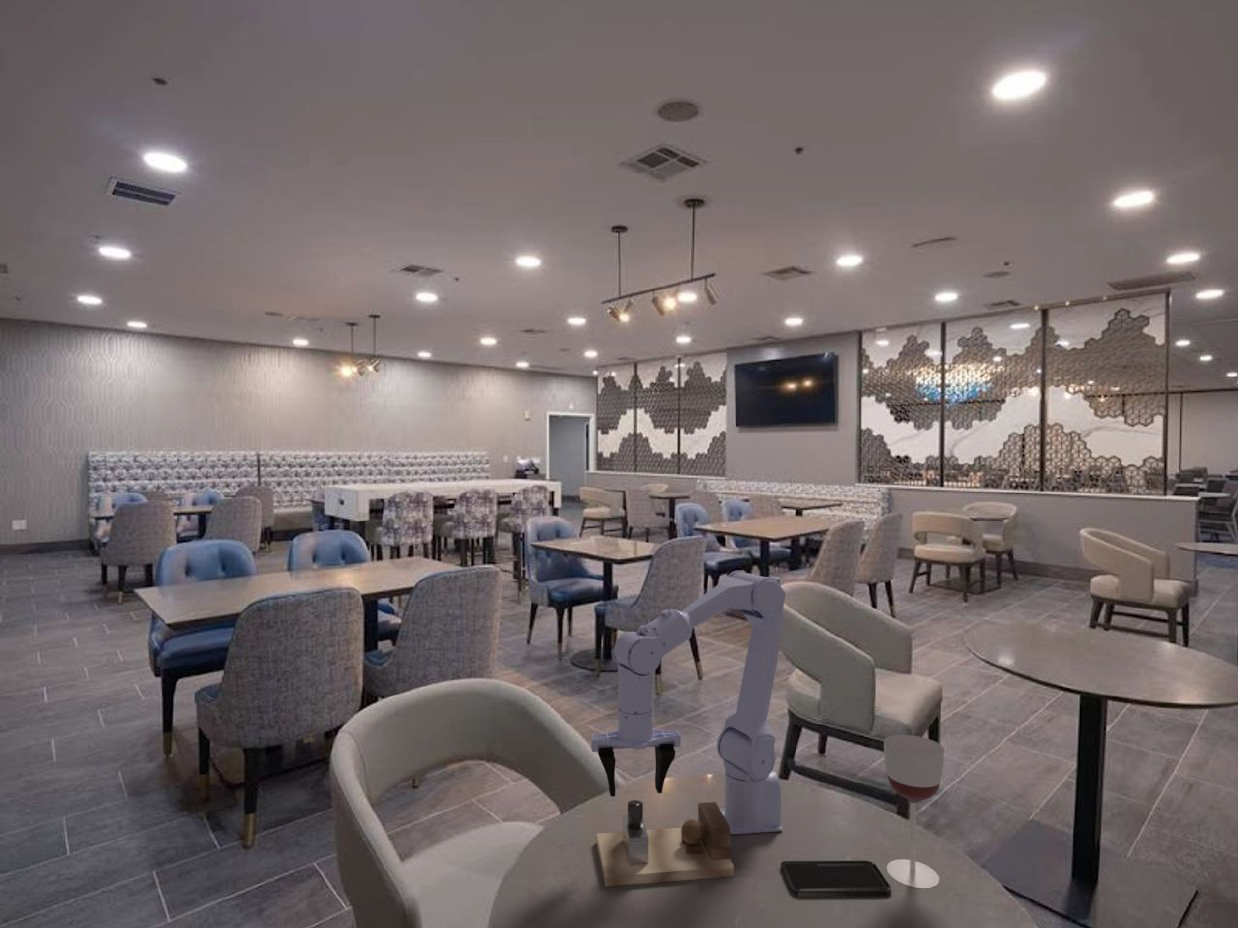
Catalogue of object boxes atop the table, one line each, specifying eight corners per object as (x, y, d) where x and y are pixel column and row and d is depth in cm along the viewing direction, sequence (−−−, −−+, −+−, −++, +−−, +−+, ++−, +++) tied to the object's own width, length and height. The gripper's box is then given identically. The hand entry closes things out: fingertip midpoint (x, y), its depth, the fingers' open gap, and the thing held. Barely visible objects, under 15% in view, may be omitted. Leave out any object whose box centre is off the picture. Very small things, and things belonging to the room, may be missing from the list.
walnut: (699, 836, 111) (700, 814, 111) (705, 848, 107) (706, 825, 107) (678, 837, 110) (678, 815, 110) (683, 850, 107) (684, 827, 107)
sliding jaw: (640, 837, 111) (640, 792, 111) (648, 862, 104) (648, 814, 104) (622, 839, 111) (622, 793, 111) (629, 864, 104) (629, 815, 104)
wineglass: (953, 889, 101) (953, 756, 101) (894, 888, 101) (895, 755, 101) (929, 858, 108) (930, 735, 109) (875, 857, 109) (876, 734, 109)
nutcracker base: (711, 833, 115) (712, 796, 115) (733, 875, 104) (734, 833, 104) (596, 842, 113) (596, 803, 113) (605, 886, 101) (605, 843, 101)
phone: (893, 891, 99) (793, 891, 99) (893, 899, 99) (792, 899, 99) (872, 859, 107) (779, 860, 107) (872, 867, 107) (779, 867, 107)
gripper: (594, 719, 104) (594, 807, 104) (685, 714, 106) (685, 800, 106) (589, 703, 111) (589, 785, 111) (674, 699, 113) (674, 780, 113)
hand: (635, 791), depth 109 cm, fingers open, 7 cm apart
